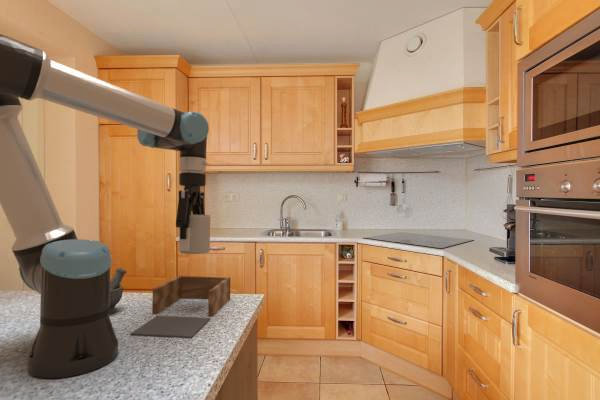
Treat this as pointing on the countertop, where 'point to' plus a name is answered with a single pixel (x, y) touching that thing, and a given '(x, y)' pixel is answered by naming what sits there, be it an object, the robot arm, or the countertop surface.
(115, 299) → the mortar and pestle
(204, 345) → the countertop surface
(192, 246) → the mug
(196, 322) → the mat
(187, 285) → the open-sided wooden frame
